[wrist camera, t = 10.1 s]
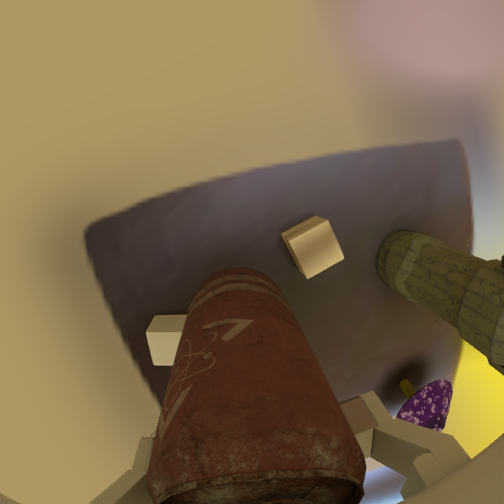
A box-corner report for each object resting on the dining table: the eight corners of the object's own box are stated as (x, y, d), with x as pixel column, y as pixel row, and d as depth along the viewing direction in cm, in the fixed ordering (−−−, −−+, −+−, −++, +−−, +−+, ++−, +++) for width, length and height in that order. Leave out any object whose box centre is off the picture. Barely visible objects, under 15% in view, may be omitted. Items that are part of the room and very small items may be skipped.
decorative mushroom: (422, 341, 42) (472, 386, 27) (430, 380, 45) (468, 422, 30) (366, 380, 42) (405, 437, 28) (380, 414, 45) (412, 464, 31)
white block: (194, 345, 38) (191, 365, 33) (161, 345, 38) (153, 365, 33) (189, 314, 37) (185, 331, 32) (154, 315, 36) (145, 332, 32)
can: (197, 354, 19) (176, 547, 5) (186, 267, 17) (101, 466, 4) (283, 349, 19) (348, 532, 5) (284, 262, 18) (411, 439, 4)
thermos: (382, 304, 39) (550, 460, 5) (367, 232, 36) (616, 353, 2) (425, 281, 39) (595, 392, 5) (414, 211, 36) (636, 280, 2)
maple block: (330, 249, 36) (344, 258, 32) (297, 267, 37) (307, 279, 32) (314, 215, 35) (327, 219, 30) (280, 233, 35) (288, 241, 31)
